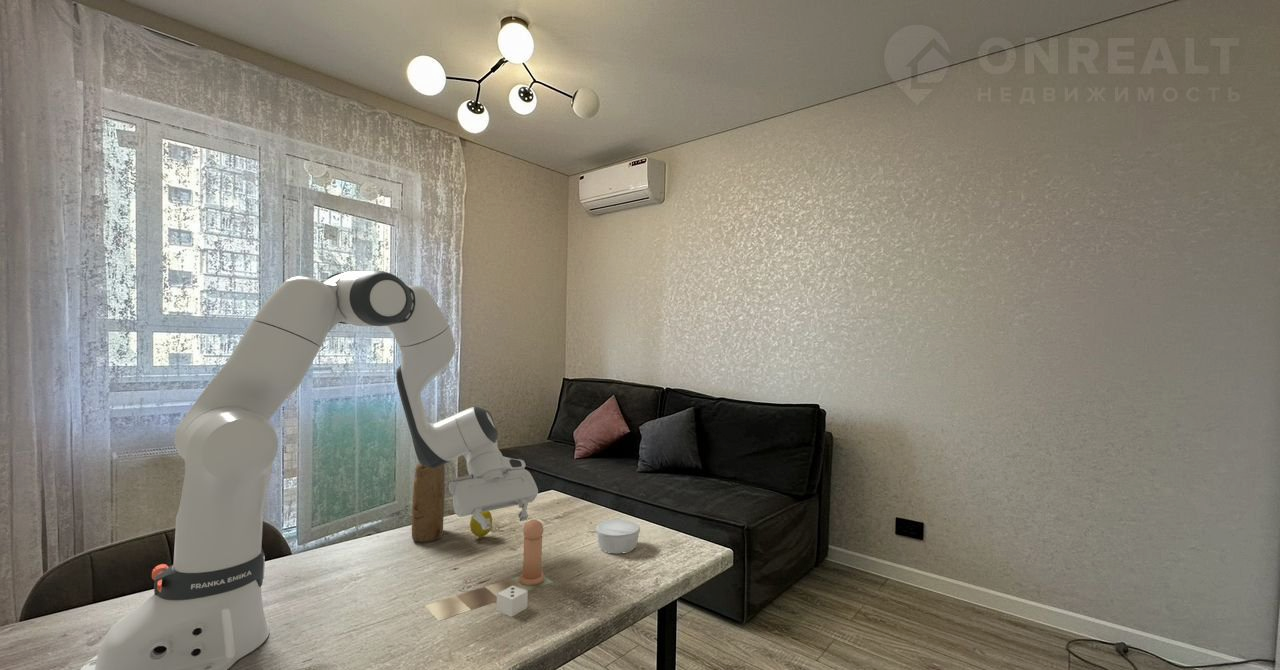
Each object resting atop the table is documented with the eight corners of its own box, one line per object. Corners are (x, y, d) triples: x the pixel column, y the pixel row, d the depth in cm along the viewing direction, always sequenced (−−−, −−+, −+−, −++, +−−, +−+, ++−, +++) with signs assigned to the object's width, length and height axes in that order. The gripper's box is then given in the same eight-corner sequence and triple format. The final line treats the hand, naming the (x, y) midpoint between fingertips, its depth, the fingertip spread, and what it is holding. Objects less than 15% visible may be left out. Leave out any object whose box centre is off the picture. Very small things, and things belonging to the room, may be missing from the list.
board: (438, 625, 90) (438, 620, 90) (424, 609, 95) (424, 605, 95) (553, 585, 106) (553, 581, 106) (535, 574, 111) (535, 570, 111)
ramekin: (599, 558, 121) (599, 536, 121) (592, 540, 132) (592, 520, 132) (644, 554, 124) (644, 533, 124) (633, 538, 135) (634, 518, 135)
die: (511, 621, 92) (512, 599, 92) (496, 615, 94) (496, 593, 94) (527, 612, 95) (527, 590, 95) (512, 606, 97) (512, 585, 98)
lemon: (465, 538, 131) (466, 507, 131) (482, 532, 135) (483, 502, 136) (478, 543, 128) (479, 512, 128) (496, 537, 132) (497, 506, 133)
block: (441, 542, 128) (444, 463, 129) (409, 545, 126) (412, 464, 127) (445, 527, 138) (447, 454, 139) (415, 529, 136) (418, 455, 137)
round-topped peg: (527, 588, 103) (529, 526, 103) (514, 579, 107) (516, 519, 107) (549, 581, 106) (550, 520, 107) (536, 572, 110) (538, 514, 111)
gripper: (450, 471, 115) (467, 526, 107) (529, 459, 129) (549, 507, 121) (442, 486, 118) (457, 541, 111) (520, 473, 132) (539, 521, 124)
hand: (506, 523), depth 116 cm, fingers open, 8 cm apart
